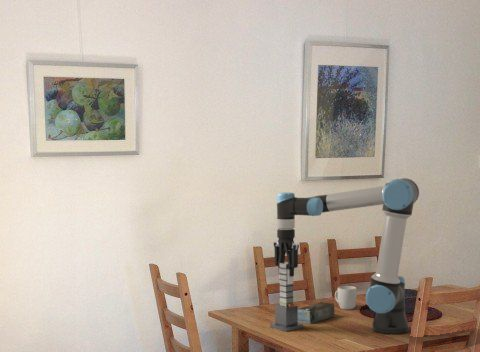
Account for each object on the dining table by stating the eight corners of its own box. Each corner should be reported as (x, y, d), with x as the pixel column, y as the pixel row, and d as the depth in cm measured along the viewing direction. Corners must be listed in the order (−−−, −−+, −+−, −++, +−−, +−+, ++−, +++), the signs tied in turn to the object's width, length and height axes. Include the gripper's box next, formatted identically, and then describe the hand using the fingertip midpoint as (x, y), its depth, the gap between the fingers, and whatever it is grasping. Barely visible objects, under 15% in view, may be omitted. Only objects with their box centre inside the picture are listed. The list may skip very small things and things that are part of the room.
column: (293, 309, 307) (293, 263, 307) (286, 311, 304) (286, 264, 304) (286, 308, 310) (286, 262, 310) (279, 309, 308) (279, 263, 307)
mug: (360, 308, 344) (360, 287, 344) (346, 311, 339) (346, 290, 338) (342, 304, 354) (342, 284, 354) (328, 306, 349) (328, 286, 349)
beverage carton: (295, 321, 319) (295, 307, 319) (321, 314, 333) (321, 300, 333) (310, 324, 314) (310, 309, 314) (335, 317, 328) (335, 302, 328)
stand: (303, 327, 307) (302, 302, 307) (286, 331, 301) (286, 306, 300) (286, 323, 315) (286, 299, 314) (270, 327, 308) (269, 302, 308)
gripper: (306, 229, 302) (306, 284, 303) (278, 226, 315) (278, 279, 316) (293, 230, 297) (294, 287, 298) (265, 227, 311) (266, 281, 311)
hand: (286, 283), depth 307 cm, fingers closed on column, 4 cm apart
